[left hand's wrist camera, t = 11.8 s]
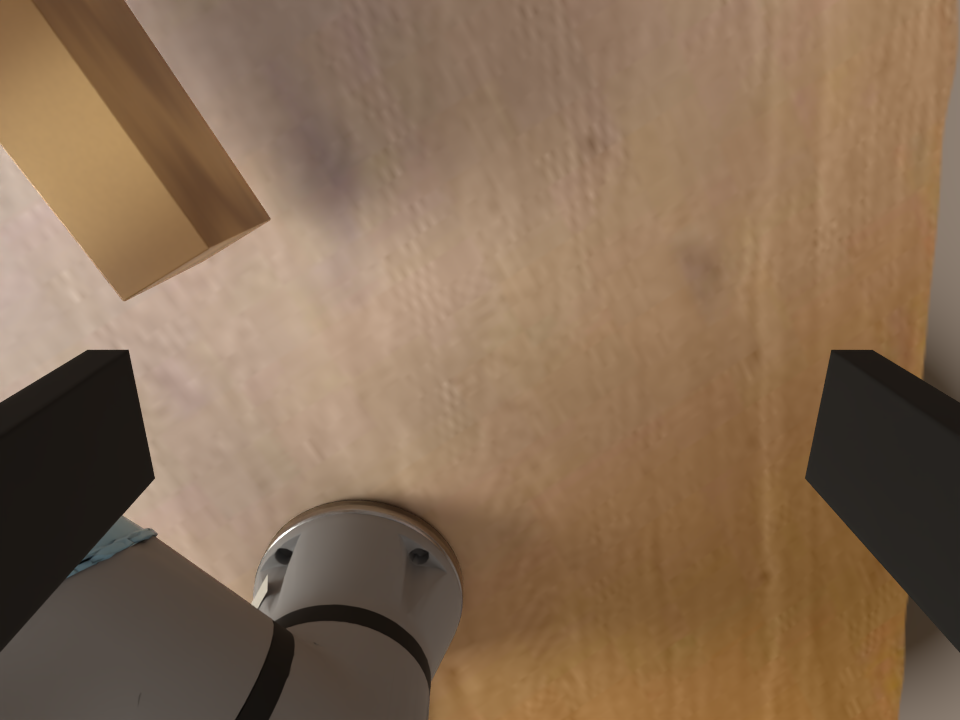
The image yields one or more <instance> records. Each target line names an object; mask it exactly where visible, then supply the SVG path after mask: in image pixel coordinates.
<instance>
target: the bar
mask: <svg viewBox="0 0 960 720" xmlns="http://www.w3.org/2000/svg"><path fill="white" fill-rule="evenodd" d="M0 144H1V146H2V147H3V148H4V150H5V151H6V152H7V153H8V155H9V156H10V157H11V159H12V160H13V161H14V162H15V164H16V165H17V166H18V167H19V169H20V170H21V171H22V173H23V174H24V175H25V176H26V178H27V179H28V180H29V182H30V183H31V184H32V185H33V187H34V188H35V189H36V190H37V192H38V193H39V194H40V196H41V197H42V198H43V199H44V201H45V202H46V203H47V205H48V206H49V207H50V208H51V210H52V211H53V212H54V213H55V215H56V216H57V217H58V219H59V220H60V221H61V222H62V224H63V225H64V226H65V228H66V229H67V230H68V231H69V233H70V234H71V235H72V236H73V238H74V239H75V240H76V242H77V243H78V244H79V245H80V247H81V248H82V249H83V251H84V252H85V253H86V254H87V256H88V257H89V258H90V259H91V261H92V262H93V263H94V265H95V266H96V267H97V268H98V270H99V271H100V272H101V274H102V275H103V276H104V277H105V279H106V280H107V281H108V283H109V284H110V285H111V286H112V288H113V289H114V290H115V291H116V293H117V294H118V295H119V297H120V298H121V299H122V300H123V301H126V300H128V299H130V298H132V297H134V296H136V295H138V294H140V293H142V292H144V291H146V290H148V289H150V288H152V287H154V286H156V285H158V284H160V283H162V282H164V281H166V280H168V279H170V278H171V277H173V276H175V275H177V274H179V273H181V272H183V271H185V270H187V269H189V268H191V267H193V266H195V265H197V264H199V263H201V262H203V261H205V260H206V259H208V258H209V257H211V256H213V255H214V254H216V253H218V252H219V251H221V250H222V249H224V248H226V247H227V246H229V245H231V244H232V243H234V242H235V241H237V240H239V239H240V238H242V237H244V236H245V235H247V234H248V233H250V232H252V231H253V230H255V229H257V228H258V227H260V226H261V225H263V224H265V223H266V222H268V221H270V217H269V215H268V214H267V212H266V211H265V209H264V208H263V206H262V205H261V203H260V202H259V201H258V199H257V198H256V196H255V195H254V193H253V192H252V190H251V189H250V187H249V186H248V184H247V183H246V181H245V180H244V178H243V177H242V175H241V174H240V172H239V171H238V169H237V168H236V166H235V165H234V163H233V162H232V160H231V159H230V157H229V156H228V154H227V153H226V151H225V150H224V148H223V147H222V145H221V144H220V142H219V141H218V139H217V138H216V136H215V135H214V133H213V132H212V130H211V129H210V127H209V126H208V125H207V123H206V122H205V120H204V119H203V117H202V116H201V114H200V113H199V111H198V110H197V108H196V107H195V105H194V104H193V102H192V101H191V99H190V98H189V96H188V95H187V93H186V92H185V90H184V89H183V87H182V86H181V84H180V83H179V81H178V80H177V78H176V77H175V75H174V74H173V72H172V71H171V69H170V68H169V66H168V65H167V63H166V62H165V60H164V59H163V57H162V56H161V54H160V53H159V51H158V50H157V49H156V47H155V46H154V44H153V43H152V41H151V40H150V38H149V37H148V35H147V34H146V32H145V31H144V29H143V28H142V26H141V25H140V23H139V22H138V20H137V19H136V17H135V16H134V14H133V13H132V11H131V10H130V8H129V7H128V5H127V4H126V2H125V1H124V0H0Z"/></svg>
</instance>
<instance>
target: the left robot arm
mask: <svg viewBox="0 0 960 720" xmlns="http://www.w3.org/2000/svg"><path fill="white" fill-rule="evenodd" d="M154 479H155V476H154V471H153V467H152V462H151V457H150V452H149V447H148V442H147V437H146V433H145V428H144V423H143V418H142V413H141V408H140V403H139V398H138V394H137V389H136V384H135V379H134V374H133V369H132V364H131V359H130V355H129V350H87V351H85V352H83V353H82V354H80V355H78V356H77V357H75V358H73V359H72V360H70V361H68V362H67V363H65V364H64V365H62V366H60V367H59V368H57V369H55V370H54V371H52V372H50V373H49V374H47V375H45V376H44V377H42V378H40V379H39V380H37V381H35V382H34V383H32V384H31V385H29V386H27V387H26V388H24V389H22V390H21V391H19V392H17V393H16V394H14V395H12V396H11V397H9V398H7V399H6V400H4V401H2V402H1V403H0V720H428V715H429V701H430V687H431V681H432V679H433V677H434V675H435V673H436V671H437V669H438V667H439V665H440V663H441V661H442V659H443V657H444V655H445V653H446V651H447V649H448V647H449V645H450V643H451V641H452V639H453V637H454V635H455V632H456V630H457V627H458V624H459V621H460V618H461V613H462V602H463V579H462V573H461V569H460V566H459V563H458V561H457V558H456V556H455V554H454V552H453V551H452V549H451V547H450V546H449V544H448V543H447V542H446V540H445V539H444V538H443V537H442V536H441V535H440V534H439V533H438V532H437V531H436V530H435V529H434V528H433V527H432V526H430V525H429V524H428V523H426V522H425V521H424V520H422V519H420V518H419V517H417V516H415V515H413V514H411V513H409V512H407V511H405V510H403V509H400V508H398V507H395V506H391V505H388V504H384V503H379V502H373V501H363V500H348V501H338V502H332V503H328V504H324V505H320V506H317V507H314V508H312V509H310V510H307V511H305V512H303V513H302V514H300V515H298V516H296V517H295V518H293V519H292V520H291V521H289V522H288V523H287V524H286V525H285V526H283V527H282V528H281V530H280V531H279V532H278V533H277V534H276V535H275V537H274V538H273V539H272V541H271V543H270V544H269V546H268V548H267V550H266V552H265V554H264V556H263V558H262V560H261V563H260V565H259V567H258V570H257V574H256V578H255V585H254V593H253V601H252V603H251V604H250V603H249V602H247V601H246V600H244V599H243V598H242V597H240V596H239V595H237V594H236V593H234V592H233V591H232V590H230V589H229V588H227V587H226V586H225V585H223V584H222V583H220V582H219V581H217V580H216V579H215V578H213V577H212V576H210V575H209V574H207V573H206V572H205V571H203V570H202V569H200V568H199V567H198V566H196V565H195V564H193V563H192V562H190V561H189V560H188V559H186V558H185V557H183V556H182V555H180V554H179V553H178V552H176V551H175V550H173V549H172V548H171V547H169V546H168V545H166V544H165V543H163V542H162V541H161V540H159V539H158V538H156V536H157V535H158V534H157V533H156V532H155V531H154V530H153V529H151V528H147V529H143V528H141V527H140V526H138V525H137V524H135V523H133V522H132V521H130V520H129V519H127V518H125V517H124V516H122V515H123V514H124V513H125V511H126V510H127V509H128V508H129V507H130V506H131V505H132V504H133V502H134V501H135V500H136V499H137V498H138V497H139V496H140V495H141V493H142V492H143V491H144V490H145V489H146V488H147V487H148V486H149V484H150V483H151V482H152V481H153V480H154ZM805 479H806V480H807V481H808V482H809V483H810V484H811V486H812V487H813V488H814V489H815V490H816V491H817V492H818V493H819V495H820V496H821V497H822V498H823V499H824V500H825V501H826V502H827V504H828V505H829V506H830V507H831V508H832V509H833V510H834V511H835V513H836V514H837V515H838V516H839V517H840V518H841V519H842V520H843V522H844V523H845V524H846V525H847V526H848V527H849V528H850V529H851V531H852V532H853V533H854V534H855V535H856V536H857V537H858V538H859V540H860V541H861V542H862V543H863V544H864V545H865V546H866V547H867V549H868V550H869V551H870V552H871V553H872V554H873V555H874V556H875V558H876V559H877V560H878V561H879V562H880V563H881V564H882V565H883V567H884V568H885V569H886V570H887V571H888V572H889V573H890V574H891V576H892V577H893V578H894V579H895V580H896V581H897V582H898V583H899V585H900V586H901V587H902V588H903V589H904V590H905V591H906V592H907V594H908V595H909V596H910V597H911V598H912V599H913V600H914V601H915V603H916V604H917V605H918V606H919V607H920V608H921V609H922V611H923V612H924V613H925V614H926V615H927V616H928V617H929V618H930V620H931V621H932V622H933V623H934V624H935V625H936V626H937V627H938V629H939V630H940V631H941V632H942V633H943V634H944V635H945V636H946V638H947V639H948V640H949V641H950V642H951V643H952V644H953V645H954V647H955V648H956V649H957V650H958V651H959V652H960V403H959V402H958V401H956V400H954V399H953V398H951V397H949V396H948V395H946V394H944V393H943V392H941V391H939V390H938V389H936V388H934V387H933V386H931V385H929V384H928V383H926V382H925V381H923V380H921V379H920V378H918V377H916V376H915V375H913V374H911V373H910V372H908V371H906V370H905V369H903V368H901V367H900V366H898V365H896V364H895V363H893V362H892V361H890V360H888V359H887V358H885V357H883V356H882V355H880V354H878V353H877V352H875V351H873V350H831V355H830V359H829V364H828V369H827V374H826V379H825V384H824V389H823V394H822V398H821V403H820V408H819V413H818V418H817V423H816V428H815V433H814V437H813V442H812V447H811V452H810V457H809V462H808V467H807V471H806V476H805Z"/></svg>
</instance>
